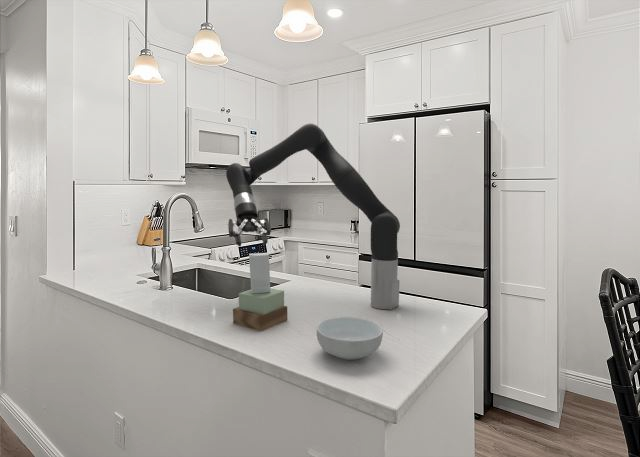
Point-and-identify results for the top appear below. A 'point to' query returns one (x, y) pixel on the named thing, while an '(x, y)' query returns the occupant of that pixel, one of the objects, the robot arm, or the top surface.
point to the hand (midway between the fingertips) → (252, 244)
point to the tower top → (261, 301)
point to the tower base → (259, 318)
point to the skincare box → (259, 272)
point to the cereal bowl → (349, 337)
